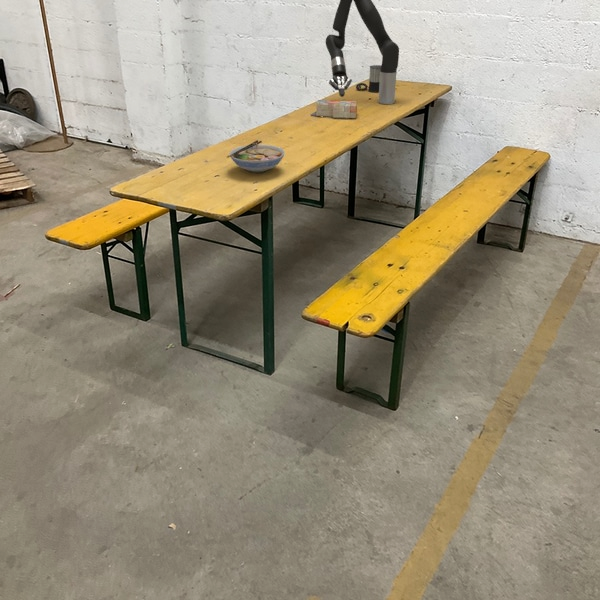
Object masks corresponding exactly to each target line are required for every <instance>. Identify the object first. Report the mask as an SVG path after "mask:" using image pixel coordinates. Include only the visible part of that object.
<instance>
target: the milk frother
mask: <svg viewBox="0 0 600 600" xmlns="http://www.w3.org/2000/svg"><path fill="white" fill-rule="evenodd" d="M381 65H382V64H379V65H378V64H376V65H375V64H374V65H370V66H369V80H368V81H369V83H368V84H369V85H367V84H366V83H363V82H361V83H358V84H356V85H355V89H356V90H358V91H362V92H363V91H368V92H370V93H374V94H375V93H379V84H380V67H381ZM362 86H363V87H364V88H362ZM367 89H368V90H367Z"/></svg>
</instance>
